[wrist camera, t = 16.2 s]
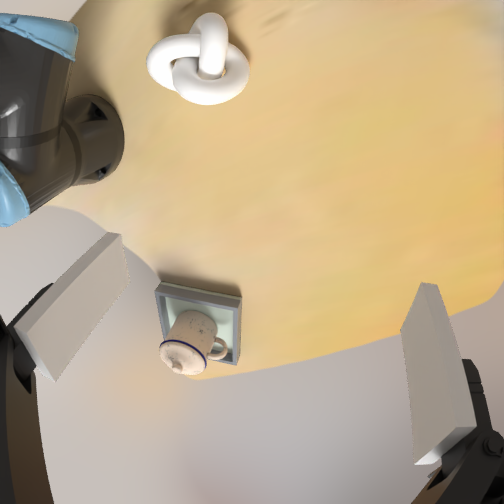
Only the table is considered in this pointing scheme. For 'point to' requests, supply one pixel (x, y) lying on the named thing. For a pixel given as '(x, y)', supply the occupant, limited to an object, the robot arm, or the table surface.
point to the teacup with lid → (191, 343)
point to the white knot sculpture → (200, 63)
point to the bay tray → (209, 303)
